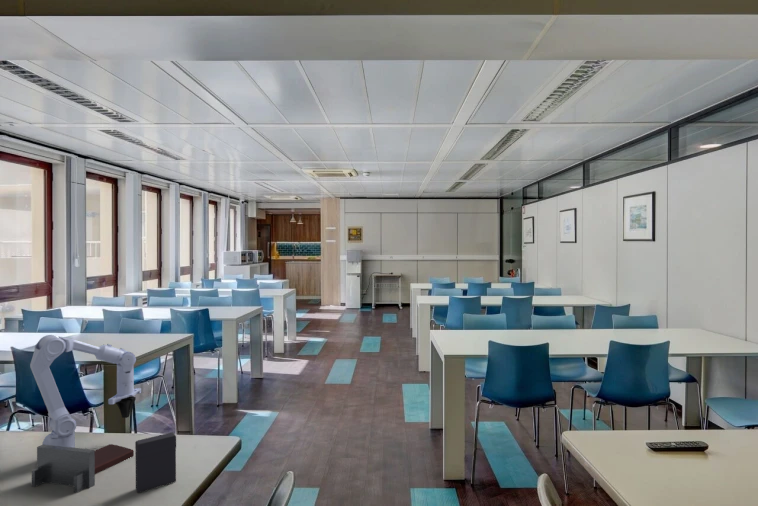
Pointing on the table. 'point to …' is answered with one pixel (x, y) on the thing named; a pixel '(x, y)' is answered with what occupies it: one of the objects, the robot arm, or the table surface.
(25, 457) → the table surface
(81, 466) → the bookend
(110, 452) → the book
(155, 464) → the upright charcoal tile
